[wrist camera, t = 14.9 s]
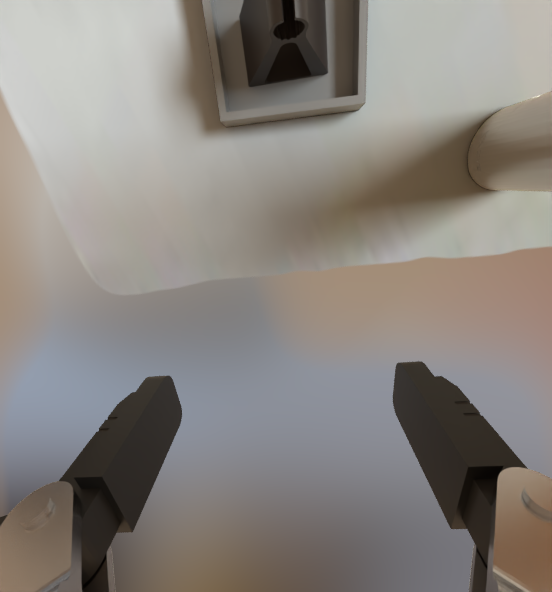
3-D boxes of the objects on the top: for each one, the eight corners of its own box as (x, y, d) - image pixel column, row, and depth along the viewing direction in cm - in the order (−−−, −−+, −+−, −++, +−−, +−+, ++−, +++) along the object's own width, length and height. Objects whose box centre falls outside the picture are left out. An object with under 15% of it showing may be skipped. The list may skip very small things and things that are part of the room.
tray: (361, -60, 26) (370, -90, 23) (358, 110, 31) (365, 103, 28) (202, -33, 27) (192, -58, 24) (226, 127, 32) (220, 121, 29)
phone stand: (248, 87, 30) (227, 30, 19) (239, 18, 28) (209, -93, 17) (327, 74, 29) (352, 7, 18) (325, 2, 27) (352, -124, 16)
